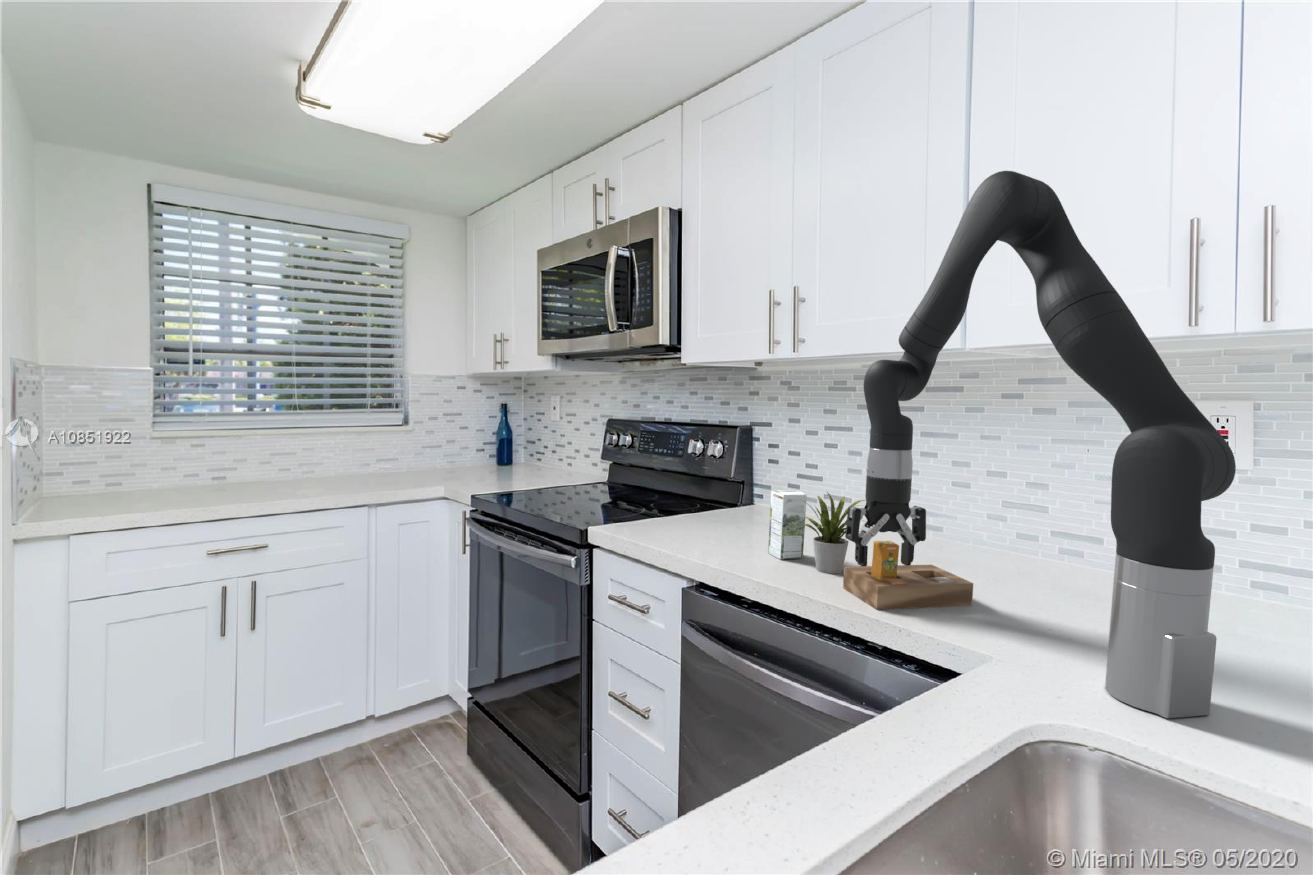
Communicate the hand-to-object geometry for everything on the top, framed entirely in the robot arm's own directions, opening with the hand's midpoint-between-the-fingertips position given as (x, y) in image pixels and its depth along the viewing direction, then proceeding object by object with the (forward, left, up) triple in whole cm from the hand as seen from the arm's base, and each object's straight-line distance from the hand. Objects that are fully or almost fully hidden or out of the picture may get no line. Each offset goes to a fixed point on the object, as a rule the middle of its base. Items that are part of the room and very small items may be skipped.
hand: (884, 564), depth 115 cm
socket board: (0, -4, -6) cm, 7 cm away
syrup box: (+29, +6, -6) cm, 30 cm away
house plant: (+17, 0, -6) cm, 18 cm away
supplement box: (0, 0, -6) cm, 6 cm away
